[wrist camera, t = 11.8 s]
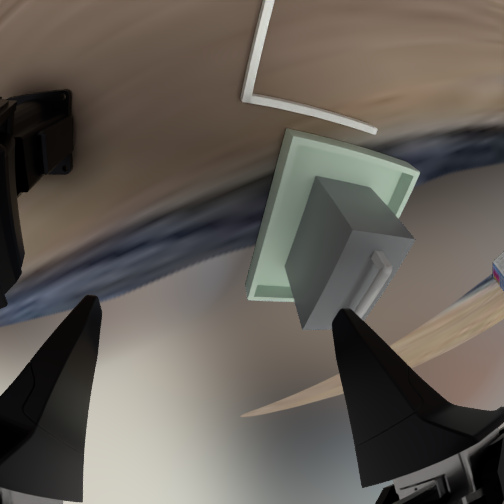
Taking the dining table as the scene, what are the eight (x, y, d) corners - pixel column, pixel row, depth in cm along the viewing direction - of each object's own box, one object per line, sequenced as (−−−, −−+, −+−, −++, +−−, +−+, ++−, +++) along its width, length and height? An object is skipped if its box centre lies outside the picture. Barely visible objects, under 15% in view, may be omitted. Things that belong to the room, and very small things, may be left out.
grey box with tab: (284, 266, 26) (307, 349, 19) (315, 175, 20) (365, 250, 14) (333, 269, 27) (365, 345, 20) (370, 187, 21) (429, 257, 15)
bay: (240, 98, 17) (241, 101, 15) (283, -73, 8) (288, -80, 7) (366, 129, 19) (375, 135, 17) (406, -23, 10) (418, -25, 9)
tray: (245, 284, 27) (247, 300, 26) (286, 128, 18) (293, 136, 17) (345, 289, 30) (351, 302, 28) (407, 162, 21) (420, 172, 19)
